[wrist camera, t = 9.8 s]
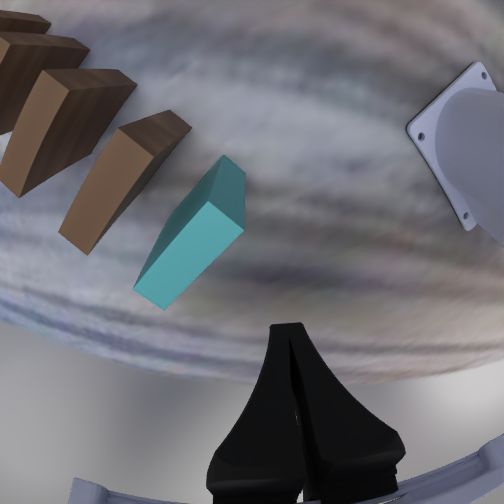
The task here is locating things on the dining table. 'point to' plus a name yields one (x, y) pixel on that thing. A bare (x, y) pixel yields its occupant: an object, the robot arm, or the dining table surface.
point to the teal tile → (195, 234)
